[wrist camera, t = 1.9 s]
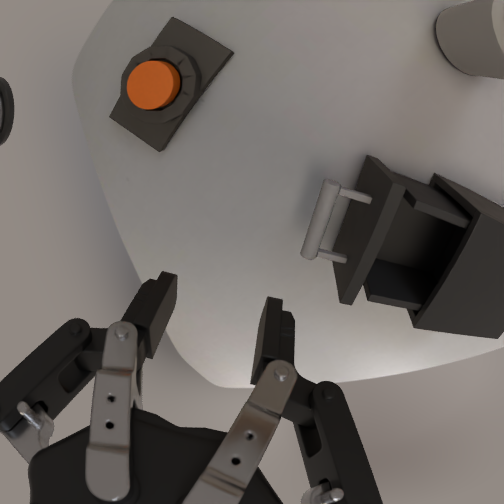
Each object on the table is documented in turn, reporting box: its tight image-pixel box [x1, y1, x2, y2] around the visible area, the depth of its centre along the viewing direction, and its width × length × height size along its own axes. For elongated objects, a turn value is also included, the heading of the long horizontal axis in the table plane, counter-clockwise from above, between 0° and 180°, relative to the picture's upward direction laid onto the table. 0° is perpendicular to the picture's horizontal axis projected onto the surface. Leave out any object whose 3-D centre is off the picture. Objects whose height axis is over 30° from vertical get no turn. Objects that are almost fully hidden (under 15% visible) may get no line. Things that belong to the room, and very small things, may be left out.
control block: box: [109, 17, 234, 152], centre depth 23 cm, size 12×7×3 cm, turn 142°
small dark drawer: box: [300, 155, 473, 311], centre depth 25 cm, size 18×11×8 cm, turn 79°
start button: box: [127, 61, 180, 110], centre depth 21 cm, size 4×4×2 cm
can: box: [436, 0, 504, 79], centre depth 12 cm, size 8×8×12 cm
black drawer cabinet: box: [407, 173, 504, 339], centre depth 25 cm, size 15×13×10 cm
